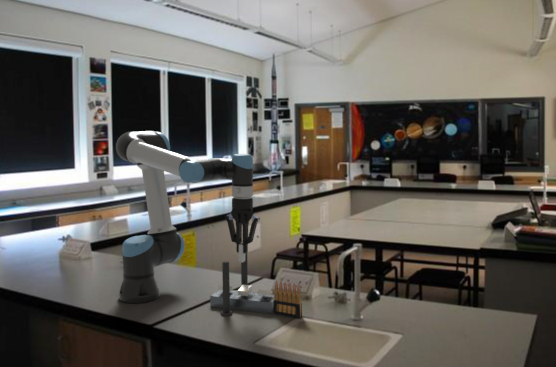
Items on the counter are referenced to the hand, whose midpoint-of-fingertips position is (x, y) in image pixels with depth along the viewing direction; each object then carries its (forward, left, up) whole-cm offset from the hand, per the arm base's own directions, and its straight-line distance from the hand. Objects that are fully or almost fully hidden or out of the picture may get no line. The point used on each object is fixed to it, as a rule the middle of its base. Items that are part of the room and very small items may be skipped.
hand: (242, 261), depth 196 cm
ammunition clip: (+18, -3, -18) cm, 25 cm away
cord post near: (-3, -9, -17) cm, 19 cm away
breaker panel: (0, +1, -17) cm, 17 cm away
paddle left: (-8, +1, -11) cm, 14 cm away
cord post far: (-3, +8, -17) cm, 19 cm away
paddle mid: (0, +1, -11) cm, 11 cm away
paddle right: (+8, +1, -11) cm, 14 cm away
